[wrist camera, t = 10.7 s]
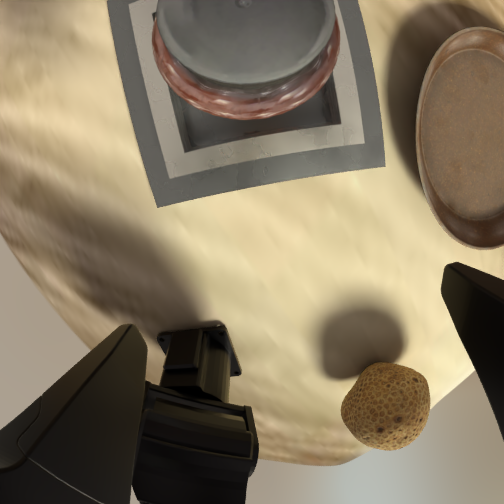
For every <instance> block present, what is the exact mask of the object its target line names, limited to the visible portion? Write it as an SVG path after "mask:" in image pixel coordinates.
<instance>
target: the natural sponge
mask: <svg viewBox="0 0 504 504" xmlns="http://www.w3.org/2000/svg"><path fill="white" fill-rule="evenodd" d="M429 411H430V393H429V387H428V383H427V380H426V379H425V377H424V376H423V375H421V374H420V373H418V372H416V371H415V370H413V369H411V368H408V367H405V366H401V365H397V364H393V363H389V362H379V363H374V364H372V365H370V366H368V367H367V368H366V369H365V370H364V371H363V372H362V373H361V375H360V376H359V378H358V380H357V381H356V383H355V385H354V386H353V387H352V389H351V390H350V391H349V392H348V394H347V395H346V396H345V398H344V400H343V402H342V406H341V416H342V419H343V422H344V423H345V425H346V426H347V428H348V429H349V430H350V432H351V433H352V434H353V435H354V437H355V438H356V439H357V440H359V441H360V442H362V443H363V444H365V445H367V446H370V447H373V448H377V449H381V450H397V449H400V448H403V447H405V446H407V445H408V444H410V443H411V442H412V441H414V440H415V439H416V438H417V437H418V436H419V435H420V433H421V432H422V430H423V428H424V427H425V425H426V422H427V419H428V415H429Z"/></svg>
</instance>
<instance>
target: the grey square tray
mask: <svg viewBox="0 0 504 504" xmlns="http://www.w3.org/2000/svg"><path fill="white" fill-rule="evenodd" d="M157 3H158V0H108V1H107V4H108V10H109V16H110V22H111V28H112V34H113V39H114V44H115V49H116V54H117V59H118V64H119V69H120V73H121V78H122V82H123V87H124V91H125V95H126V99H127V103H128V107H129V111H130V115H131V119H132V123H133V127H134V131H135V134H136V138H137V142H138V145H139V149H140V152H141V156H142V159H143V163H144V166H145V169H146V173H147V176H148V179H149V183H150V186H151V189H152V192H153V196H154V199H155V202H156V205H157V208H159V207H163V206H167V205H171V204H175V203H180V202H184V201H188V200H193V199H197V198H202V197H206V196H211V195H216V194H220V193H225V192H230V191H235V190H240V189H245V188H250V187H256V186H261V185H266V184H272V183H277V182H283V181H289V180H295V179H301V178H307V177H313V176H319V175H326V174H333V173H340V172H347V171H354V170H361V169H369V168H377V167H386V166H385V152H384V141H383V131H382V122H381V113H380V106H379V99H378V92H377V86H376V80H375V74H374V68H373V63H372V58H371V53H370V48H369V44H368V39H367V35H366V31H365V26H364V22H363V19H362V15H361V11H360V7H359V4H358V0H334V5H335V13H336V15H337V18H338V22H339V29H340V51H339V54H338V59H337V62H336V65H335V67H334V69H333V71H332V73H331V74H330V76H329V78H328V80H327V81H326V83H325V84H324V85H323V86H322V87H321V89H320V90H319V91H318V92H317V93H316V94H315V95H314V96H312V97H311V98H310V99H308V100H307V101H306V102H305V103H303V104H301V105H299V106H297V107H296V108H294V109H293V110H290V111H287V112H285V113H283V114H280V115H276V116H272V117H269V118H263V119H251V120H237V119H229V118H223V117H220V116H216V115H213V114H209V113H207V112H204V111H202V110H199V109H197V108H195V107H194V106H192V105H190V104H189V103H187V102H186V101H185V100H184V99H182V98H181V97H180V96H178V95H177V94H176V93H175V92H174V91H173V89H172V88H171V87H170V86H169V85H168V84H167V83H166V81H165V80H164V79H163V77H162V75H161V74H160V72H159V70H158V67H157V65H156V62H155V60H154V55H153V49H152V30H153V25H154V20H155V17H156V8H157Z"/></svg>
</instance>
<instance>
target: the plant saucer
mask: <svg viewBox="0 0 504 504" xmlns="http://www.w3.org/2000/svg"><path fill="white" fill-rule="evenodd" d="M415 141H416V155H417V163H418V169H419V174H420V179H421V183H422V187H423V190H424V193H425V196H426V199H427V202H428V204H429V206H430V209H431V210H432V212H433V214H434V216H435V218H436V220H437V221H438V223H439V224H440V226H441V227H442V228H443V229H444V231H445V232H446V233H447V234H448V235H449V236H450V237H452V238H453V239H454V240H456V241H457V242H459V243H460V244H462V245H464V246H466V247H469V248H472V249H477V250H491V249H496V248H499V247H502V246H504V33H503V32H501V31H499V30H496V29H493V28H489V27H479V26H478V27H469V28H465V29H462V30H460V31H458V32H456V33H455V34H453V35H451V36H450V37H449V38H448V39H447V40H446V41H445V42H443V44H442V45H441V46H440V47H439V49H438V50H437V51H436V53H435V54H434V56H433V58H432V60H431V61H430V64H429V66H428V68H427V70H426V73H425V75H424V79H423V82H422V85H421V89H420V93H419V98H418V104H417V112H416V127H415Z"/></svg>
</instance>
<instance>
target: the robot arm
mask: <svg viewBox="0 0 504 504" xmlns="http://www.w3.org/2000/svg"><path fill="white" fill-rule="evenodd" d="M441 294H442V297H443V300H444V302H445V304H446V306H447V309H448V311H449V313H450V316H451V318H452V320H453V323H454V325H455V328H456V330H457V332H458V335H459V337H460V339H461V341H462V343H463V345H464V347H465V349H466V351H467V353H468V355H469V357H470V359H471V361H472V364H473V366H474V368H475V370H476V372H477V374H478V376H479V378H480V381H481V383H482V385H483V388H484V390H485V392H486V395H487V397H488V400H489V402H490V405H491V407H492V410H493V412H494V414H495V418H496V420H497V423H498V426H499V429H500V432H501V434H502V437H503V440H504V280H502V279H500V278H497V277H495V276H492V275H490V274H487V273H485V272H482V271H480V270H477V269H475V268H472V267H470V266H467V265H464V264H462V263H459V262H454V263H450V264H447V265H446V266H445V268H444V272H443V279H442V285H441ZM220 331H222V332H220ZM162 338H164V339H162ZM157 341H158V343H159V345H160V346H161V348H162V350H163V352H164V353H165V355H166V358H165V361H164V365H163V368H164V369H163V372H162V376H161V380H160V384H159V385H155V384H152V383H151V382H149V381H146V380H145V376H146V364H147V353H148V349H147V345H146V342H145V340H144V339H143V337H142V335H141V333H140V332H139V330H138V328H137V327H136V325H134V324H123V325H121V326H119V327H118V328H117V329H116V330H115V331H113V332H112V333H111V334H110V335H109V336H108V337H106V338H105V339H104V340H103V341H102V342H101V343H100V344H98V345H97V346H96V347H95V348H94V349H93V350H91V351H90V352H89V353H88V354H87V355H86V356H85V357H83V358H82V359H81V360H80V361H79V362H78V363H77V364H75V365H74V366H73V367H72V368H71V369H70V370H69V371H68V372H66V374H64V375H63V376H62V377H61V378H60V379H59V380H57V381H56V382H55V383H54V384H53V385H52V386H51V387H50V388H49V389H48V390H46V391H45V392H44V393H43V394H42V396H40V397H39V398H38V399H36V400H35V401H34V402H33V403H32V404H31V405H30V406H29V407H28V408H26V409H25V410H24V411H23V412H22V413H21V414H19V415H18V416H17V417H16V418H15V419H14V420H12V421H11V422H10V423H8V424H7V425H6V426H5V427H3V428H2V429H1V430H0V504H130V495H131V485H132V487H133V490H134V493H135V495H136V498H137V500H138V501H139V502H140V504H245V500H246V488H247V481H248V477H250V476H251V475H252V473H253V472H254V470H255V467H256V464H257V460H258V453H259V443H258V437H257V433H256V428H255V423H254V418H253V413H252V408H251V407H250V406H245V405H244V406H239V405H234V404H230V403H228V402H229V386H230V377H232V376H239V375H241V373H242V369H241V366H240V364H239V361H238V358H237V356H236V353H235V350H234V347H233V345H232V342H231V339H230V336H229V333H228V331H227V329H226V328H225V327H223V326H217V327H209V328H201V329H192V330H183V331H174V332H164V333H159V334H158V336H157Z"/></svg>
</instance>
